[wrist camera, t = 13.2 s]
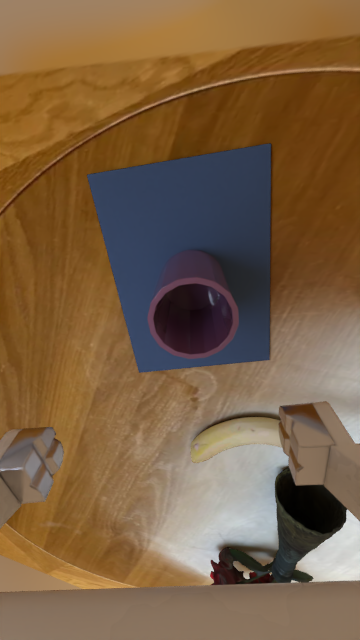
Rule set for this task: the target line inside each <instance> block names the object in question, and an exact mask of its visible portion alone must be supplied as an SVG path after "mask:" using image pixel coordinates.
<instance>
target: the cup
mask: <svg viewBox="0 0 360 640" xmlns="http://www.w3.org/2000/svg"><path fill="white" fill-rule="evenodd" d="M147 319H148V324H149V328H150V333H151V335H152V336H153V338H154V339H155V340H156V342H157V343H158V344H159V346H160V347H161V348H163V349H165V350H166V351H168V352H169V353H171V354H172V355H174V356H179V357H183V358H187V359H195V358H205V357H208V356H210V355H213V354H215V353H217V352H219V351H221V350H222V349H223V348H224V347H225V346H226V345H227V344H228V343H229V342H230V341H231V340H232V339H233V337H234V335H235V332H236V330H237V328H238V325H239V315H238V306H237V304H236V301H235V299H234V296H233V294H232V291H231V289H230V286H229V284H228V281H227V279H226V276H225V274H224V272H223V270H222V268H221V266H220V264H219V262H218V261H217V260H216V259H215V258H214V257H213V256H211V255H210V254H208V253H206V252H203V251H200V250H185V251H182V252H179V253H177V254H175V255H174V256H172V257H171V258H170V259H169V260H168V261H167V262H166V263H165V265H164V267H163V268H162V270H161V273H160V276H159V279H158V282H157V285H156V288H155V291H154V294H153V297H152V300H151V304H150V308H149V313H148V317H147Z"/></svg>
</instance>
